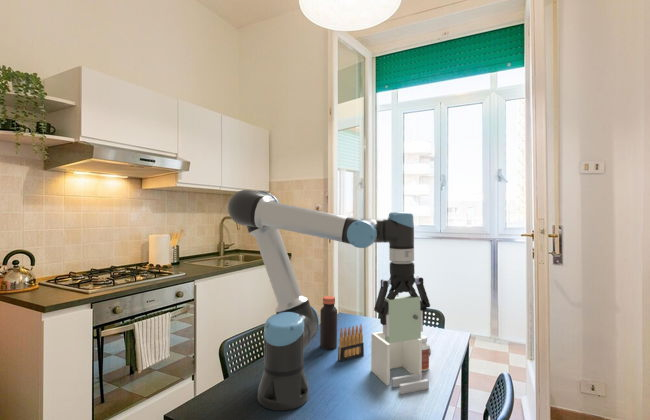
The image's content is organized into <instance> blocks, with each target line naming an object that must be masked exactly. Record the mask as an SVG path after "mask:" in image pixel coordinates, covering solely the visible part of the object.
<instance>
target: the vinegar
mask: <svg viewBox="0 0 650 420" xmlns="http://www.w3.org/2000/svg"><path fill="white" fill-rule="evenodd" d="M335 304H336V296H333V295H326V296H322V305H323V306H322V307H321V308H320V315H319V320H320V323H319V329H320V334H319V335H320V337H319V339H320V340H319V343H320V344H319V347H320V348H321V349H323V350H327V351H328V350H334V349H336V348H337V346H338V308H336V306H335Z"/></svg>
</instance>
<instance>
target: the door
mask: <svg viewBox="0 0 650 420" xmlns="http://www.w3.org/2000/svg"><path fill="white" fill-rule="evenodd" d="M420 300H421V298H420V296H419V297H413V296H411V295H410V294H409V295H402V296H396V297H395V299H394V300H389V299H387V298H386V297H385V301H386V302H388V304H389V310H388V312H387V314H388V315H389V337H387V336H385V340H386V341H387V342H388V343H395V342H401V341H408V340H414V339H421V335H422V332H421V318H420Z"/></svg>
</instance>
